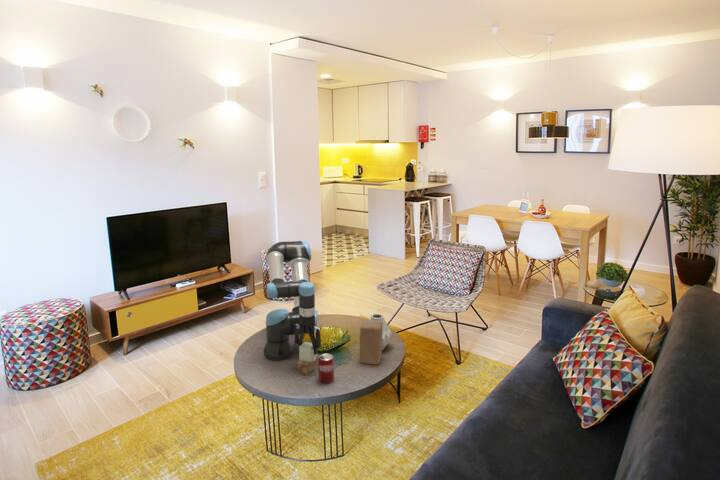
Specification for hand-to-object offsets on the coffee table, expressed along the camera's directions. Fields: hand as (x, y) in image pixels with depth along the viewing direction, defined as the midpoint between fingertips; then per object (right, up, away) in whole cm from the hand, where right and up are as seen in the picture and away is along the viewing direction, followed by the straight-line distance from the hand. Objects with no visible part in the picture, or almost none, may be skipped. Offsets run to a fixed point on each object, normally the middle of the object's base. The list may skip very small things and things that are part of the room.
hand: (307, 358), depth 227 cm
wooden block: (+31, -4, +11) cm, 33 cm away
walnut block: (0, -6, +1) cm, 6 cm away
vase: (+35, -1, +24) cm, 42 cm away
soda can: (+10, -8, -9) cm, 15 cm away
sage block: (0, 0, 0) cm, 0 cm away
